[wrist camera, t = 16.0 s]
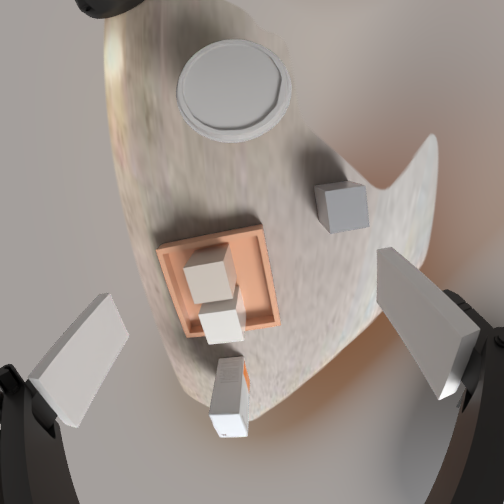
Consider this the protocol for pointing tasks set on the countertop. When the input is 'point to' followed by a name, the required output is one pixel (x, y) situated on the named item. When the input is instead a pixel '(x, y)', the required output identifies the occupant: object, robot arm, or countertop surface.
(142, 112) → the countertop surface
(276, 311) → the dish
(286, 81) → the disposable coffee cup
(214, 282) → the beige rectangular block
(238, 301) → the white block
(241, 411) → the skincare box
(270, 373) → the countertop surface
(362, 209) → the grey rectangular block
